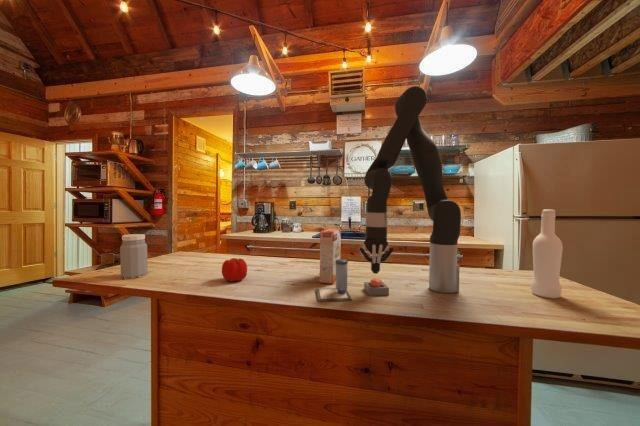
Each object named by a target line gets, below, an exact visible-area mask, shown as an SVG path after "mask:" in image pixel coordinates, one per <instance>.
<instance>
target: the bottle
mask: <svg viewBox="0 0 640 426" xmlns="http://www.w3.org/2000/svg"><path fill="white" fill-rule="evenodd" d="M556 217H557V216H556V210H555V209H549V208H548V209H542V211H541V215H540V218H541V221H540V222H541V223H540V233H539V234H538V235H536V237H534V239H533V240H532V262H533V263H532V266H533V277H532V280H531V282H530V290H531V293H532V294H533V295H534V296H535V295H536V296H538V297H542V298H547V299H559V298H561V296H562V285H561V283H560V273H561V265H562V258H563V250H564V247H563V242H562V240H561V239H560V238H559V237H558V235H556Z"/></svg>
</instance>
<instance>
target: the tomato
mask: <svg viewBox="0 0 640 426" xmlns="http://www.w3.org/2000/svg"><path fill="white" fill-rule="evenodd" d="M221 275H222V277H223V278H224V280H227V281H229V282H233V283H234V282H240V281H242V280H244V279H245V278H247V277H246V276H247V275H248V265H247V262H246V261H245V260H244V259H243V258H240V257H239V258H234V257H233V258H230V259H226V260H224V262H223V263H222V264H221Z"/></svg>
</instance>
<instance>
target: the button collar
mask: <svg viewBox="0 0 640 426" xmlns="http://www.w3.org/2000/svg"><path fill="white" fill-rule="evenodd" d="M370 283H371V281H370V282H369V281H368V282H367V281H365V282H363V284H364V285H363V289H364V291H365V293H366V294H367V295H368V296H369V297H370V296H389V295H390V287H389V286H388V285H386V284H385V283H384V282H383V281H382V287H371V286H370Z"/></svg>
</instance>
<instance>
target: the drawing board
mask: <svg viewBox="0 0 640 426" xmlns="http://www.w3.org/2000/svg"><path fill="white" fill-rule="evenodd" d="M315 291H316V299H317V302H318V303H319V302H321V303H323V302H326V303H327V302H328V303H329V302H352V301H353V299H352V297H351V295H350V293H349V291H348V289H347V290H346V293H345V294H338V293H337V292H338V290H337V289H336V287H335V288H333V287H332V288H316V289H315Z"/></svg>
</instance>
